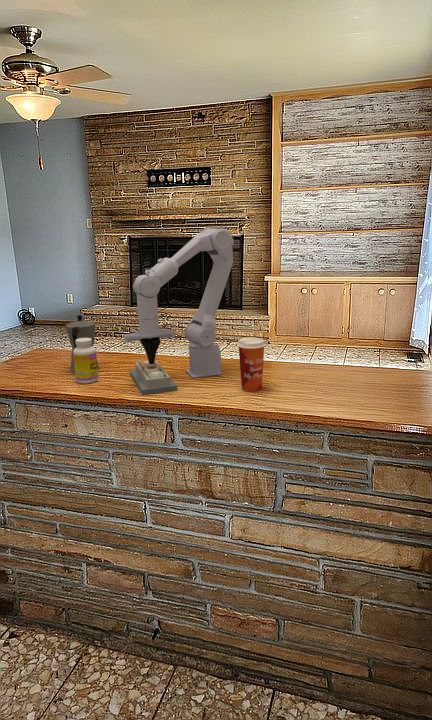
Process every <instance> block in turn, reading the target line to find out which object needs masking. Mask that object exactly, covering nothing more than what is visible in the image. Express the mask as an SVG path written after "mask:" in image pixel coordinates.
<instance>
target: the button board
mask: <svg viewBox="0 0 432 720" xmlns="http://www.w3.org/2000/svg"><path fill="white" fill-rule="evenodd" d="M140 362H141V361H137V362H134V368H135V369H130V370H129V376H130V377H131V379H132V381H133V382H134V384H135V386H136V387H137V389H138V391H139V392H140V395H142V396H147V395H148V396H149V395H155V394H161V393H169V392H176V391H178V384H177V383H176V382H175V381H174V379H173V378H172V377H171V376H170V374H168V372H167V371H166V370H165V369H164V368H163V366H162V365H161V364H160V363H159V362H158V361H157V360H156V359H155V366H159V371H162V372H164V377H160V378H152V379H149V378H148V373H149V372H148V373H145V372H144V367H141V366H140Z"/></svg>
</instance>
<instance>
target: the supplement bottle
mask: <svg viewBox="0 0 432 720" xmlns="http://www.w3.org/2000/svg"><path fill="white" fill-rule="evenodd" d="M75 341H76V345H77V347H76V348H75V349H74V350H73V356H74V365H75V373H74V375H75V381H76V382H77V383H78V384H92V383H94V382H97V381H98V380H99V369H98V368H97V362H98V359H97V349H96V348H95V347H94V345H93V346H91V344H92V339H91V338H79V339H76V340H75Z"/></svg>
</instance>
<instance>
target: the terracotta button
mask: <svg viewBox="0 0 432 720" xmlns="http://www.w3.org/2000/svg"><path fill="white" fill-rule="evenodd" d="M139 362H140V366H141V367H146V366H151V365H155V364H149V362H148V359H146V360H141V361H139Z"/></svg>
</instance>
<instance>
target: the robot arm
mask: <svg viewBox="0 0 432 720" xmlns="http://www.w3.org/2000/svg"><path fill="white" fill-rule="evenodd" d="M234 243H235V240H234V238H233V236H232V233H231V232H230V231H229V230H228V229H227V228H224V227H223V228H211V227H206V228H204V229H202V230H201V232H198V233H196V234H195V236H194V237H193V238H191V239H190V240H189V241H188V242H187V243H186V244H185V245H183V247H181V248H180V250H178V251H177V252H176V253H175V254H173V256H172V257H170V258H169V257H164V258H159V259H157V263H156V264H155V265H154V266H152V267H151V268H150V269H146V270H145V271H144V273H145V274H141V275H139V276H137V277H136V278H135V279H134V282H133V285H132V289H133V291H134V292H135V294H136V303H137V304H136V305H137V319H138V331H137V332H132V333H126V334H125V333H124V334H123V340H124V343H129V342H138V341H140V343H141V345H142V347H143V349H144V351H145V353H146V357H147V360H148V362H149V364H155V360H156V355H157V352H158V349H159V346H160V345H161V339H164V338H165V339H166V338H175V337H176V334H175V332H176V331H175V330H174V329H173V328H172V329H160V321H159V320H160V319H159V306H158V294H159V292H160V291H161V290H160V289H161V288H162V287H163V286H164V285H165V284H166V283H168V282H169V281H170V280H171V279H173V278H174V277H175V276H177V275H178V272H179V268H180V267H181V266H182V265H184V264H185V263H186V262H187V261H189V260H191V259H192V258H193V257H194V256H195V255H197V254H199V253H200V252H207V253H208V254H209V256H210V258H211V259H212V262H213V265H212V269H211V271H210V274H209V278H208V280H207V283H206V286H205V288H204V289H205V290H204V293H203V296H202V298H201V301H200V304H199V307H198V310H197V312H196V313H194V315H193V316H192V317H191V319H190V322H189V323H188V324H187V325H186V327H185V329H184V337H185V338H186V339H187V340H188V357H189V358H188V359H189V368H188V369H185V372H186V373H188V375H189V376H190V377H191V378H193V379H195V378H204V377H210V376H211V377H212V376H218V375H219V376H220V375H222V374H223V371H222V354H221V347H220V346H219V345H218V343H215V341H216V339H217V338H216V337H217V335H216V331H217V330H216V329H217V327H218V326H217V324H218V323H217V321H216V319H215V317H216V314H217V312H218V308H219V306H220V303H221V300H222V296H223V293H224V291H225V288H226V285H227V281H228V279H229V276H230V272H231V270H232V267H233V264H234V254H233V253H234V251H233V246H234Z"/></svg>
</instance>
